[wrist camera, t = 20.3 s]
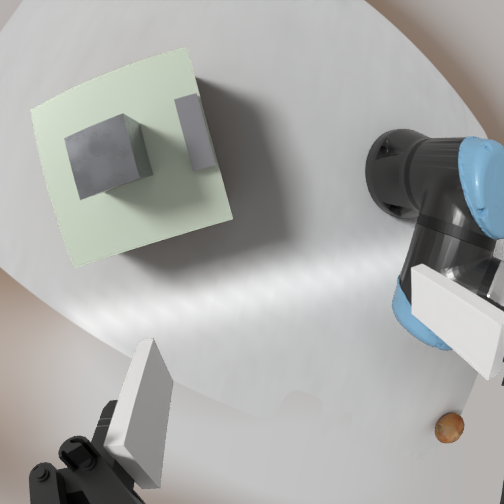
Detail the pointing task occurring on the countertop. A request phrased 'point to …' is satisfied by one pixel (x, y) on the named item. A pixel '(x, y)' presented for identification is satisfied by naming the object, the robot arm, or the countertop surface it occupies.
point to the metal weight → (108, 155)
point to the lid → (159, 152)
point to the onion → (449, 428)
